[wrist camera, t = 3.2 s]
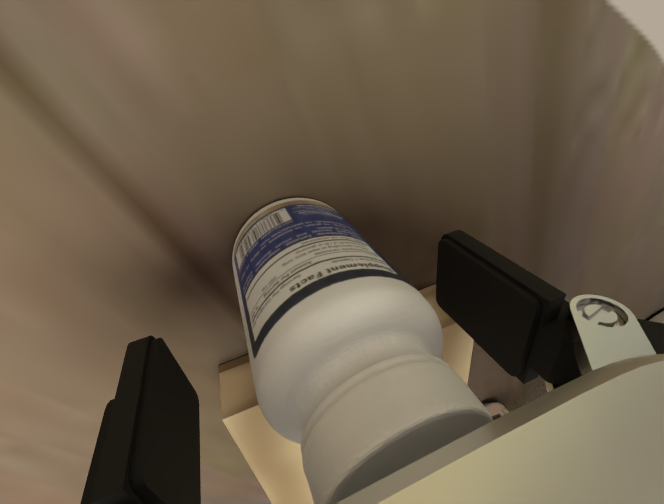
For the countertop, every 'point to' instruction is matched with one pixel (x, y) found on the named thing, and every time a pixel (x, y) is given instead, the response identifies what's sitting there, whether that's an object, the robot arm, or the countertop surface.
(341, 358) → the pill bottle
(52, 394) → the countertop surface
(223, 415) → the socket block
